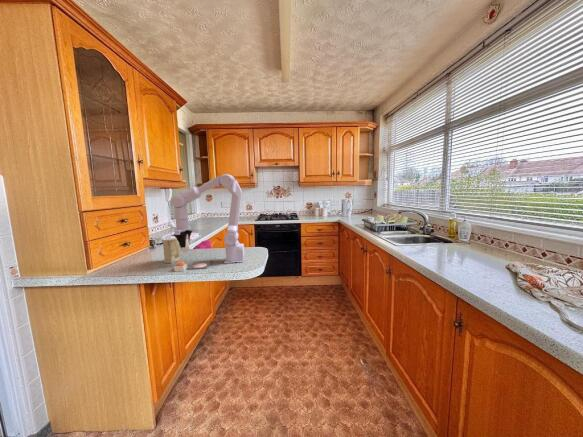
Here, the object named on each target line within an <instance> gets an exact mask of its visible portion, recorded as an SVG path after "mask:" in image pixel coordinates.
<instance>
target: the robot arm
mask: <svg viewBox="0 0 583 437" xmlns="http://www.w3.org/2000/svg"><path fill="white" fill-rule="evenodd" d="M215 187H224V188H225V189H227V190H228V192H229V193H230V194H231V198H230V200H231V201H230V208H229V217H228V224H227V229H226V233H225V235H224V237H223V241H224V248H225V260H224V262H223V263H224V264H232V263H233V264H235V262H237V263H243V262H245V259H244V258H246V255H245V253H246V252H245V244H244V243H240V242H239V237H240V234H239V219H240V211H241V205H242V202H241V201H242V196H243V191H242V189H241V186H240V184H239V182H238V179H236V178H235V177H234V176H233V175H231V174H229V173H224V174H222V175H218V176H216V177H215V178H212V179H210V180H209V181H207V182H205V183H203V184H202V185H200V186H198V187H195V186H190V187H188V189H187V190H185V191H183V192H182V191H181V192H180V193H179V194H176V195H174V196H173V197H172V199H171V204H172V205H173V208H174V209H173V210H174V218H175V219H174V221H175V227H176V228H173V231H174V234H173V235H174V238H177V240H178V246H179V247H181V248H183V247H185V246H186V236H187V234H188V240H189V241H190V240H191V235H192V232H193V231H192V230H191V229H192V228H191V225H189V224H190V222H189V215H188V214H189V213H188V208H187V207H188V205H189V204H190V203H192V202H194V201H196V200H197V199H199V198H201V195H202V194H203V193H205V192H208V191H209V190H211V189H213V188H215ZM181 248H180V249H181Z"/></svg>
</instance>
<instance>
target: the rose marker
mask: <svg viewBox="0 0 583 437" xmlns="http://www.w3.org/2000/svg"><path fill="white" fill-rule="evenodd" d="M179 247H180V246H179ZM190 249H191V248H190V240H188V234H187V236H186V246H185V247H183V248H181V247H180V252H182V253H183V252H189V251H190Z"/></svg>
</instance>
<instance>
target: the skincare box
mask: <svg viewBox="0 0 583 437" xmlns="http://www.w3.org/2000/svg"><path fill="white" fill-rule="evenodd" d="M162 247H163V248H162V249H163V256H164V263H165V264H173V263H176V262H178V261H180V250H179V242H178V240H177V238H176V237H170V238H166V239H163V240H162Z"/></svg>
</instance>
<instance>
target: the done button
mask: <svg viewBox="0 0 583 437" xmlns="http://www.w3.org/2000/svg"><path fill="white" fill-rule="evenodd" d="M185 263H186V262H185V260H178V261H176V262H175V266H184V265H185Z"/></svg>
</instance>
